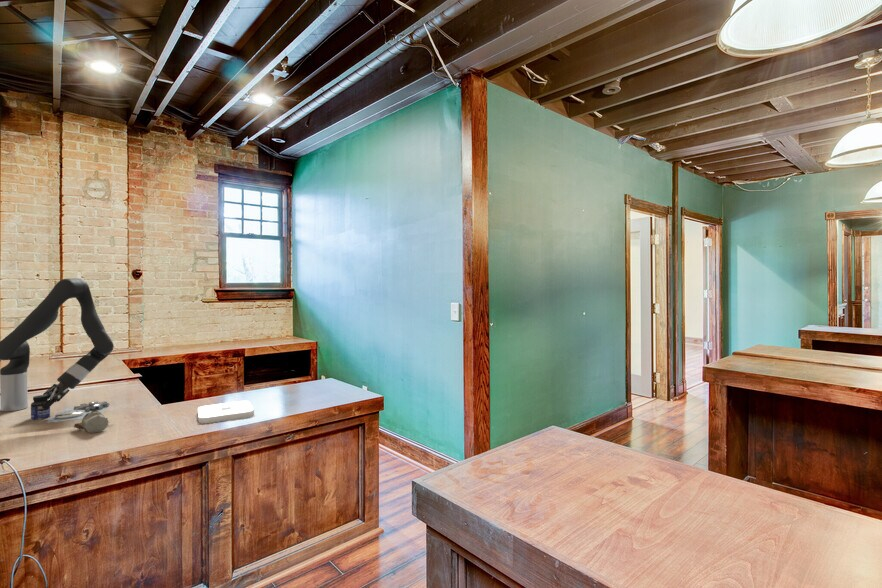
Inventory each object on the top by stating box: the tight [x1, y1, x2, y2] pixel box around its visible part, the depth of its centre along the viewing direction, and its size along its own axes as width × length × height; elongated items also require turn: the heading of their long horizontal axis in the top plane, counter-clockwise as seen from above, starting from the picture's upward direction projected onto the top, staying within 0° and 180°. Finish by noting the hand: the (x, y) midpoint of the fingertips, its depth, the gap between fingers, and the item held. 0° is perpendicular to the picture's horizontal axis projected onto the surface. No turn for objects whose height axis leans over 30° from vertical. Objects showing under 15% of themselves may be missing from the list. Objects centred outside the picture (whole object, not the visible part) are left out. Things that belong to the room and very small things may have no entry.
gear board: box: [45, 403, 110, 424], centre depth 193 cm, size 24×17×2 cm
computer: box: [197, 400, 255, 424], centre depth 196 cm, size 22×22×3 cm
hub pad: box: [54, 410, 85, 419], centre depth 189 cm, size 10×10×1 cm
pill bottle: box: [30, 394, 51, 421], centre depth 186 cm, size 6×6×11 cm
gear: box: [73, 401, 110, 412], centre depth 201 cm, size 13×13×3 cm
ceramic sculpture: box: [74, 409, 109, 434], centre depth 174 cm, size 11×9×15 cm
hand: (40, 407), depth 186 cm, fingers open, 8 cm apart
